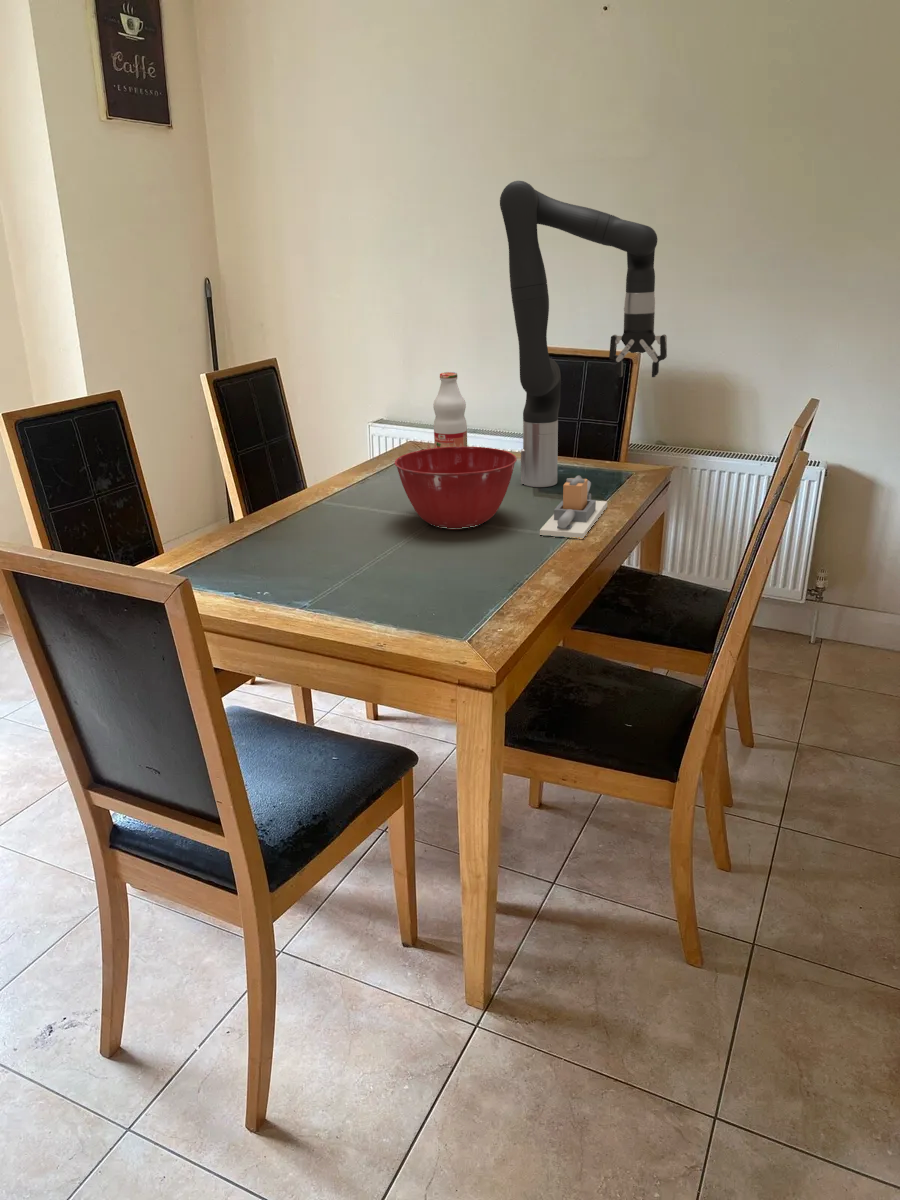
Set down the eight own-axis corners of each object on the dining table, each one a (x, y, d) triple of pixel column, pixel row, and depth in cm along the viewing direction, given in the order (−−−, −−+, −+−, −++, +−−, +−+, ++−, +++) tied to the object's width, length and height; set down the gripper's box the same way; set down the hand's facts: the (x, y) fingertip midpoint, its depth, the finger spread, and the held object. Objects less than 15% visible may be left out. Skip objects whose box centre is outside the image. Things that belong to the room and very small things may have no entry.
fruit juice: (474, 470, 261) (472, 372, 251) (454, 477, 254) (451, 376, 244) (449, 466, 267) (445, 370, 256) (428, 473, 260) (424, 374, 249)
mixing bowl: (414, 503, 232) (411, 443, 226) (524, 506, 227) (524, 445, 221) (384, 538, 207) (380, 472, 201) (508, 542, 201) (507, 474, 195)
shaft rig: (539, 536, 204) (539, 505, 201) (567, 504, 226) (567, 476, 224) (583, 539, 201) (584, 508, 198) (607, 507, 223) (607, 478, 220)
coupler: (569, 510, 216) (570, 474, 213) (586, 511, 215) (587, 475, 212) (562, 518, 211) (563, 481, 207) (580, 519, 209) (581, 482, 206)
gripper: (670, 309, 227) (667, 375, 234) (614, 310, 232) (612, 374, 239) (665, 312, 221) (662, 379, 227) (608, 312, 226) (606, 378, 232)
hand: (637, 376), depth 233 cm, fingers open, 8 cm apart
